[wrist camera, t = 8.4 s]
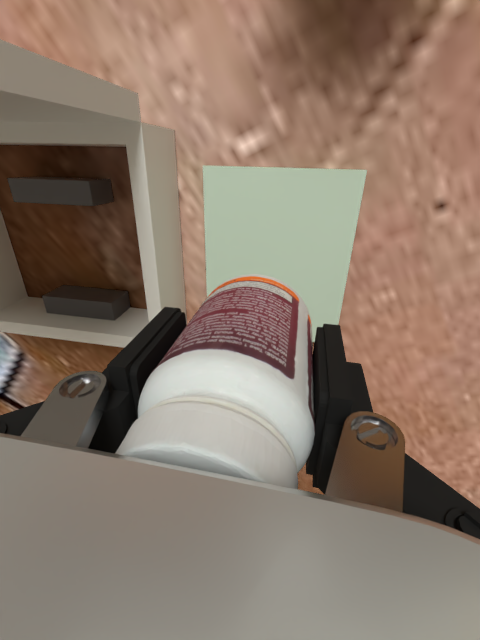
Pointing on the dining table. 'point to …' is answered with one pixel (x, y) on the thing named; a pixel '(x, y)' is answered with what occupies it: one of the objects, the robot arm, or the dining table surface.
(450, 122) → the dining table surface
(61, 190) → the equipment case
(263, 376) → the pill bottle
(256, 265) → the mat
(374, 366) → the dining table surface
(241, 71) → the dining table surface
